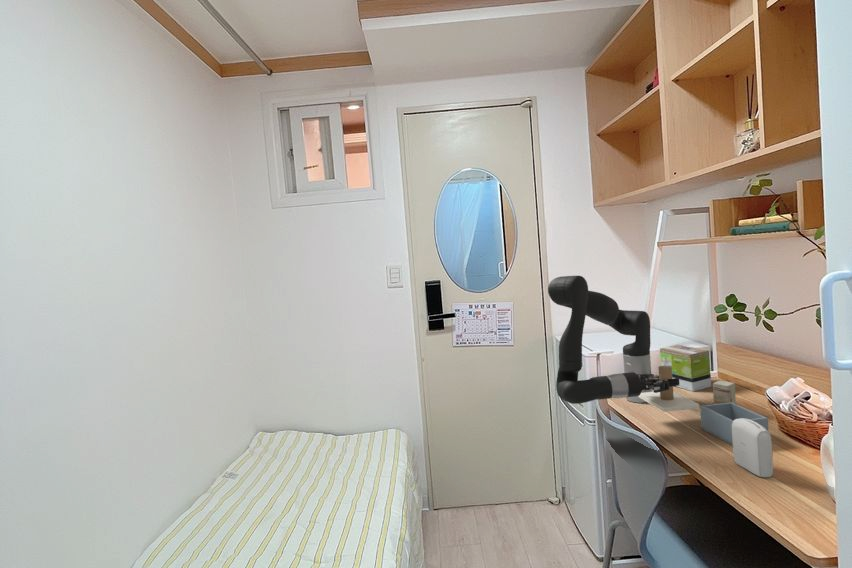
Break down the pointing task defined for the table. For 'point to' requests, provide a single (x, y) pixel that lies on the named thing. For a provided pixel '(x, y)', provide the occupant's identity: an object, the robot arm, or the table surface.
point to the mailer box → (726, 419)
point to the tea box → (688, 366)
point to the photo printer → (752, 447)
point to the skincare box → (724, 392)
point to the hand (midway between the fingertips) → (674, 380)
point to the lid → (668, 396)
